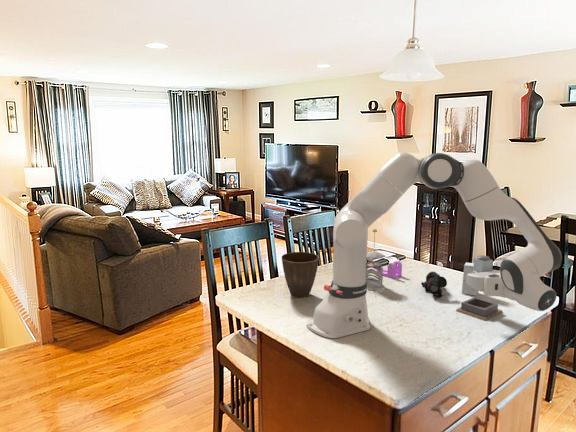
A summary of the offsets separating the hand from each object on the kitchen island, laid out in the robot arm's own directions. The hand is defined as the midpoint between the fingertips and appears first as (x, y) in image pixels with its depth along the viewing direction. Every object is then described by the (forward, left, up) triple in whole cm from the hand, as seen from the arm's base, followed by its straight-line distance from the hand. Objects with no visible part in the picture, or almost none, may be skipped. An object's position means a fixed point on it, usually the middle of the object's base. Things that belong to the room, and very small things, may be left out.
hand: (480, 271), depth 158 cm
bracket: (+7, +49, -15) cm, 52 cm away
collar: (0, -1, -15) cm, 15 cm away
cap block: (0, -1, -6) cm, 6 cm away
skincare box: (+15, +11, -15) cm, 24 cm away
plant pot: (-40, +53, -15) cm, 69 cm away
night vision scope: (+5, +22, -15) cm, 27 cm away
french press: (-10, +42, -15) cm, 46 cm away
